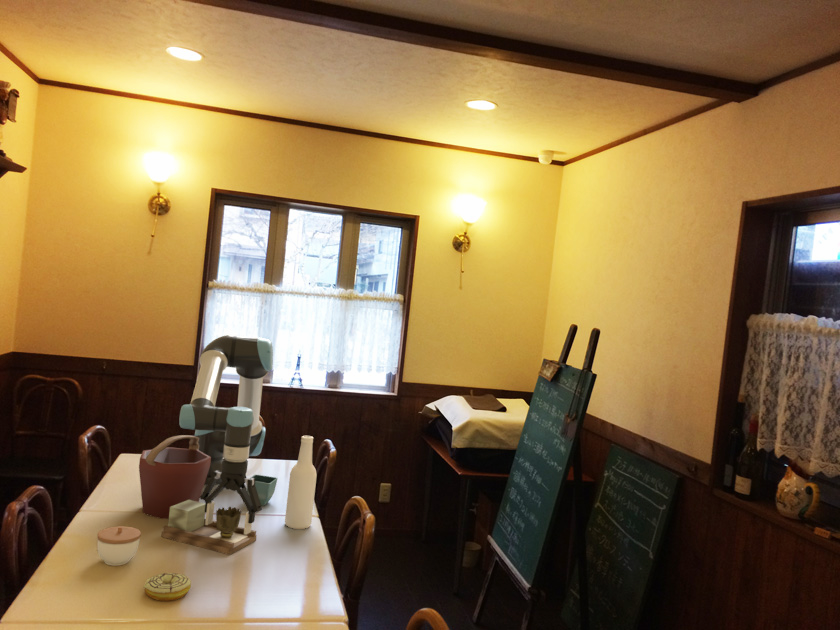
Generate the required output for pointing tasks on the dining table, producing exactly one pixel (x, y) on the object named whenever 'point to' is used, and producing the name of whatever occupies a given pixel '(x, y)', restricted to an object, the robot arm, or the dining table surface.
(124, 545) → the lidded jar
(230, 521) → the cup
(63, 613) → the dining table surface
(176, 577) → the decorated donut
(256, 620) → the dining table surface
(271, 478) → the flower pot
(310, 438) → the alcohol
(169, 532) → the brown wooden tray
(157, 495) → the bucket
